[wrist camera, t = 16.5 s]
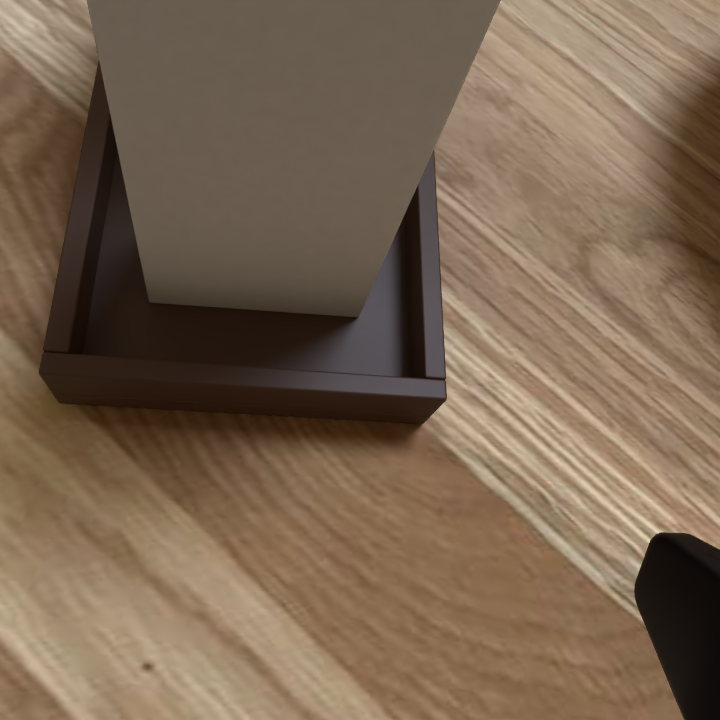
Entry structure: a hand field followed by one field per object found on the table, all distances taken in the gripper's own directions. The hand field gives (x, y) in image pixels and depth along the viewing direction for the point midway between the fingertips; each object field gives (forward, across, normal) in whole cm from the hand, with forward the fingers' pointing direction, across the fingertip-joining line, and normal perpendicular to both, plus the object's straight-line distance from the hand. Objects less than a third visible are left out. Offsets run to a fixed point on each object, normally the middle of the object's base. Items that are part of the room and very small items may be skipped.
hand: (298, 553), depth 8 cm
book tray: (+17, 0, -2) cm, 17 cm away
